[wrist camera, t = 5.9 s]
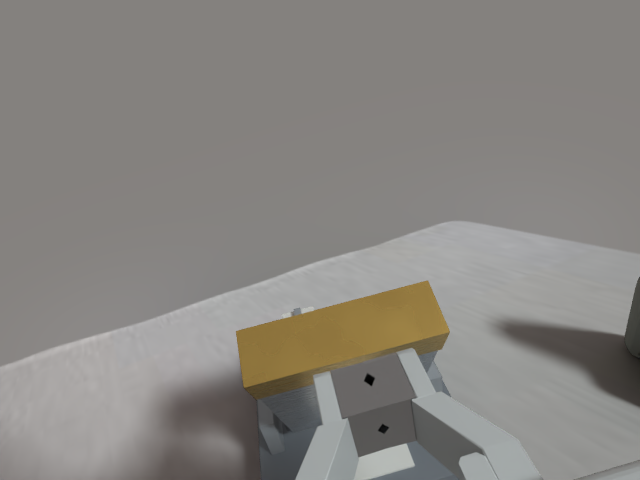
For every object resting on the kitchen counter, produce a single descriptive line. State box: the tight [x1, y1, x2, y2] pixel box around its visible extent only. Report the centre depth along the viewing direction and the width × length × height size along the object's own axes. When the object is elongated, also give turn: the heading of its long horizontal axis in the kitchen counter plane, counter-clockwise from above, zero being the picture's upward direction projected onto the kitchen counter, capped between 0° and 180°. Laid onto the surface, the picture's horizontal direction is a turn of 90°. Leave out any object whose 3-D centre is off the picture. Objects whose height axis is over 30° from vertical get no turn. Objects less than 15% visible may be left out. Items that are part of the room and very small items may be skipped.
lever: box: [236, 281, 450, 433], centre depth 25 cm, size 3×10×16 cm, turn 100°
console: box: [257, 361, 459, 480], centre depth 35 cm, size 18×15×6 cm
